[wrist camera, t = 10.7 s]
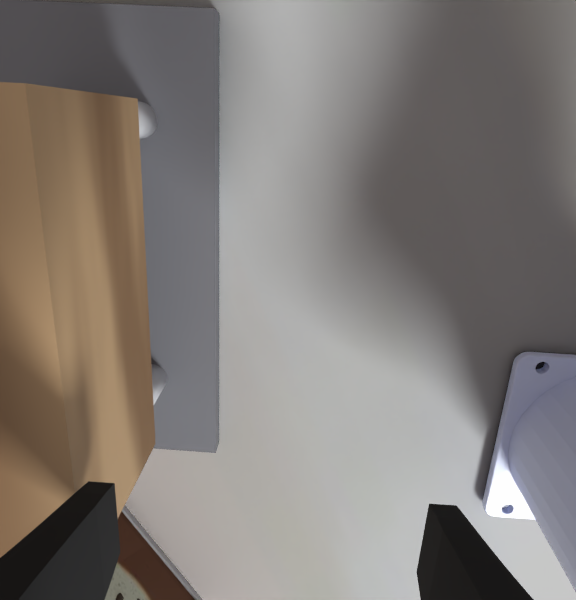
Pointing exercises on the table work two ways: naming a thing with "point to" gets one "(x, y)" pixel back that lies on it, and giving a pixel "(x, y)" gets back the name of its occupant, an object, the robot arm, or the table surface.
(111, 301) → the shelf block
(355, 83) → the table surface
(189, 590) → the food container
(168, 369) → the peg plate
